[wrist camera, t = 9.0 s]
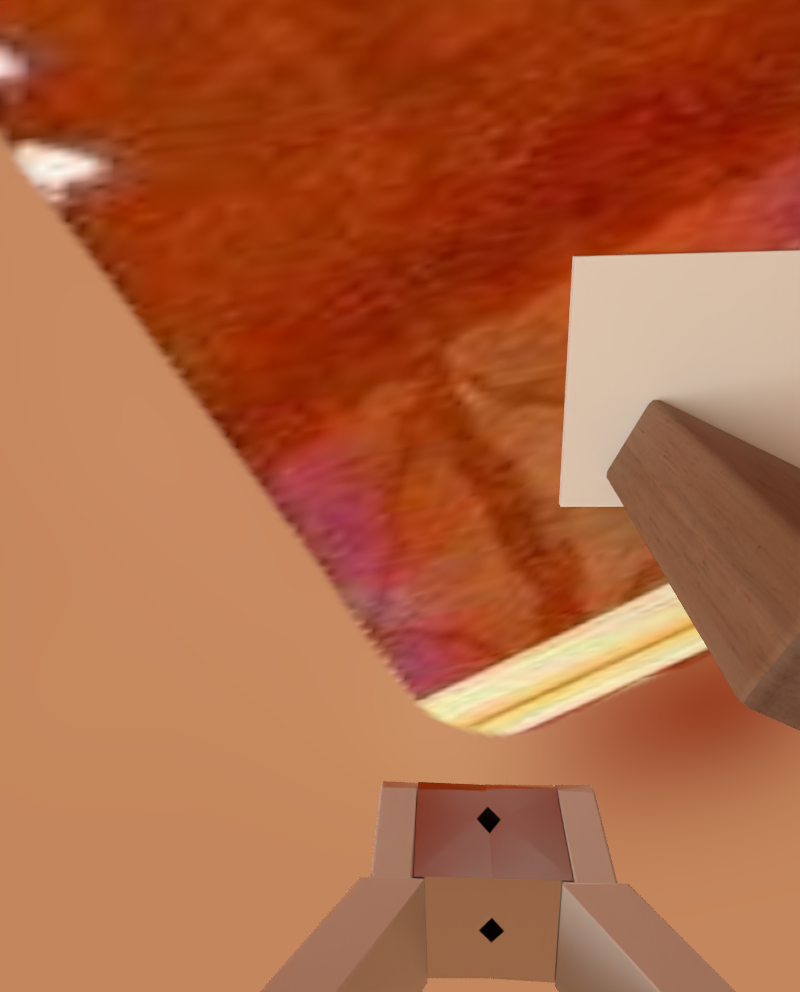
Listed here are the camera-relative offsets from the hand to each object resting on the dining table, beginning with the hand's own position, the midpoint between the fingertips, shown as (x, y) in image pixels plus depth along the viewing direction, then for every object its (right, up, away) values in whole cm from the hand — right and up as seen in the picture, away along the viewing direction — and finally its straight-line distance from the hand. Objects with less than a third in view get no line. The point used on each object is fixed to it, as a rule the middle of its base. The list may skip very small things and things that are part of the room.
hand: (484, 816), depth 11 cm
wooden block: (+14, +6, +25) cm, 29 cm away
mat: (+15, +10, +24) cm, 30 cm away
